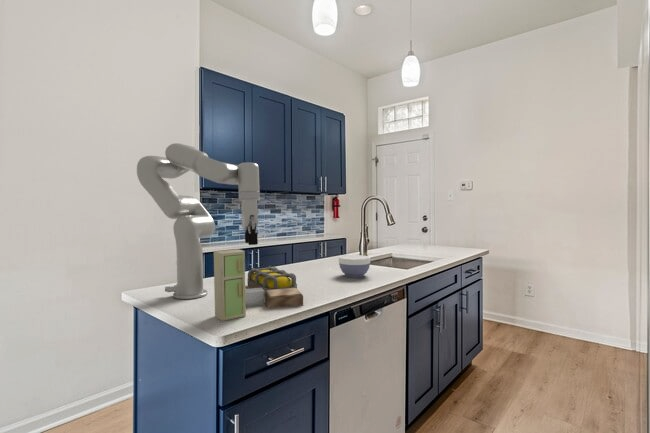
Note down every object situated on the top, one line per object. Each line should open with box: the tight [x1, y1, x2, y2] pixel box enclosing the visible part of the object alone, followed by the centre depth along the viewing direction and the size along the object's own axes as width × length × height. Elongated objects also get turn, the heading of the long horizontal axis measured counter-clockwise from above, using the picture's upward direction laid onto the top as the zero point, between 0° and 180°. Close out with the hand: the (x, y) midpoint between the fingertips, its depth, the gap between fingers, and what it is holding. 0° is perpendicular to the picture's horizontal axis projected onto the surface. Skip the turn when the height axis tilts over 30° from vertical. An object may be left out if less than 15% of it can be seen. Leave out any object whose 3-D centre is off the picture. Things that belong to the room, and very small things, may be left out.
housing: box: [245, 288, 267, 308], centre depth 125 cm, size 11×7×5 cm, turn 111°
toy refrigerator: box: [213, 248, 247, 322], centre depth 110 cm, size 8×7×21 cm
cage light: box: [246, 265, 298, 292], centre depth 146 cm, size 15×8×30 cm
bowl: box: [338, 254, 371, 279], centre depth 174 cm, size 16×16×10 cm
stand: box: [265, 287, 304, 309], centre depth 126 cm, size 12×10×4 cm
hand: (251, 243), depth 127 cm, fingers open, 9 cm apart
